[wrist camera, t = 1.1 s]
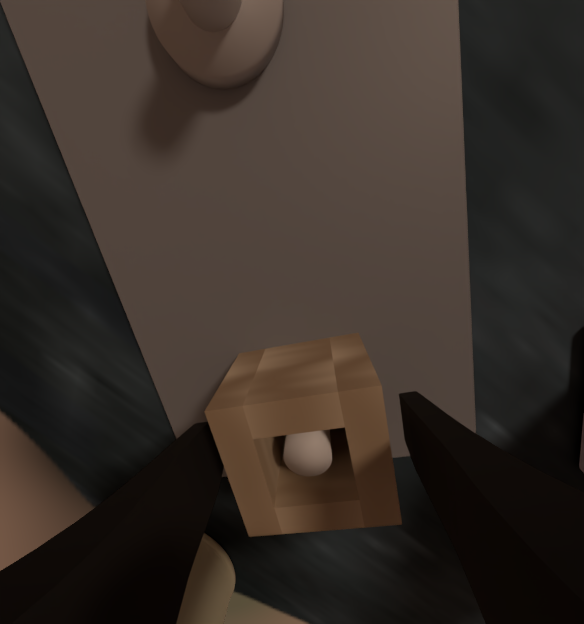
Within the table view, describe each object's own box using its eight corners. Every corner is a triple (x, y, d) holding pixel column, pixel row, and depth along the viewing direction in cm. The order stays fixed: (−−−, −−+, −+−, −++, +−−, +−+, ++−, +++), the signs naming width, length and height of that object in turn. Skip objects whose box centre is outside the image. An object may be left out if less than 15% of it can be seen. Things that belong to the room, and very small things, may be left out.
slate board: (429, -221, 8) (611, -932, 3) (464, 432, 13) (544, 538, 9) (5, -41, 9) (-291, -302, 5) (200, 464, 15) (152, 565, 11)
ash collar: (358, 332, 11) (381, 385, 7) (375, 435, 13) (402, 524, 9) (239, 353, 12) (204, 411, 8) (267, 448, 13) (249, 536, 9)
